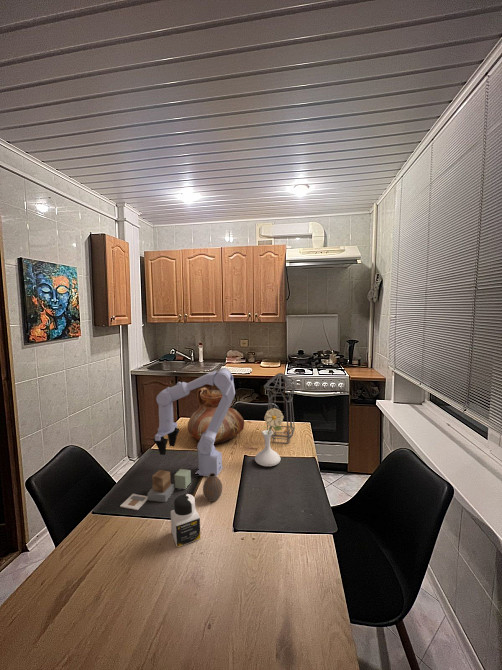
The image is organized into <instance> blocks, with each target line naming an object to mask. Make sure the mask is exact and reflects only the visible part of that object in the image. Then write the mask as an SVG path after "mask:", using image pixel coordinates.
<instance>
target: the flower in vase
mask: <svg viewBox="0 0 502 670" xmlns="http://www.w3.org/2000/svg"><path fill="white" fill-rule="evenodd" d="M263 419H264V421H265V423H266V426H265V425H263V424H262V425H261V426H263V427H264V428H265V430H263V431H261V434H262V435H263V438H264V447H263V449H262V450H259V452H257V454H256V455H255V457H254V461H255V462H256V464H258V465H260V466H263V467H273V466H277V465H278V464H279V463H281V459H282V458H281V455H280V454H279V453H278V452H276V451H275V450H274V449H272V447H271V438H272V437H271V435H274V432H273V431H276V432H279V431H283V427H280V426H282V422H283V421H284V415H283V413H282V411H281V410H280V409H278V408H276V407H275V408H274V407H272V409H270V408H269V410H268V409H267V411H266V412H265V415H264V418H263ZM267 425H268V430H267ZM270 426H272V427H271V429H270V430H269V428H270ZM272 429H273V431H272Z"/></svg>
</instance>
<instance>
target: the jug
mask: <svg viewBox="0 0 502 670" xmlns="http://www.w3.org/2000/svg"><path fill="white" fill-rule="evenodd" d="M222 396H223V395H222V393H221V391H220V389H208V388H207V387H200V388H198V389H197V392H196V398H197V403H198V404H199V407H198V409H197V410H196V411H194V412H193V414H192V415H191V416H190V418H189V419H188V423H187V431H188V433H189V434H190V436H191V437H192V438H193V439H195V440H197V441H198V442H199V441H200V439H201V435H202V434H203V433H204V432H205V431H206V430H207V428H208V426H209V424H210V422H211V420H212V417H213V415H214V413H215V411H216V409H217V407H218V405H219V403H220V400H221V398H222ZM244 428H245V419H244V418H243V416H242V415H241V414H240V412H239V411H237V409H235V408H233V407H229V409H228V411H227V413H226V415H225V417H224V420H223V422H222V424H221V426H220V428H219V430H218V432H217V435H216V437H215V442H214V444H219V443H220V444H221V443H223V442H226V441H228V440H230V439H232V438H234V437H236V436H238V435H239V434H240V433H242V431H244Z"/></svg>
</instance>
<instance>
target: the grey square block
mask: <svg viewBox="0 0 502 670" xmlns="http://www.w3.org/2000/svg"><path fill="white" fill-rule="evenodd" d="M174 490H175V483H171V486H170V487H169V488H168V489H167V490H166V491H165V492H164V493H162V492H158V491H154V490H153V486H152V487H151V488H150V489H149V491H148V492H147V496H148V500H147V501H153V502H160V503H161V502H162V503H167V501H168V500H169V499H170V497H171V496H172V495H173V493H174V492H175V491H174ZM173 491H174V492H173ZM171 494H172V495H171ZM168 498H169V499H168Z"/></svg>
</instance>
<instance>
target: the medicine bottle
mask: <svg viewBox="0 0 502 670" xmlns="http://www.w3.org/2000/svg"><path fill="white" fill-rule="evenodd" d="M195 501H196V498H195V497H194V496H193V495H192V494H189V493H182V494H180V495H179V496H177V497H176V498H175V499H174V502H173V505H174V506H173V509H172V510H170V528H171V529H170V531H171V535H172V538H173V540H174V543H175V546H176V548H181V547H184V546H186V545H189V544H190V543H193V542H196V541H200V540H201V516H200V515H199V513H198V510H197V508H196V502H195Z"/></svg>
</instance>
